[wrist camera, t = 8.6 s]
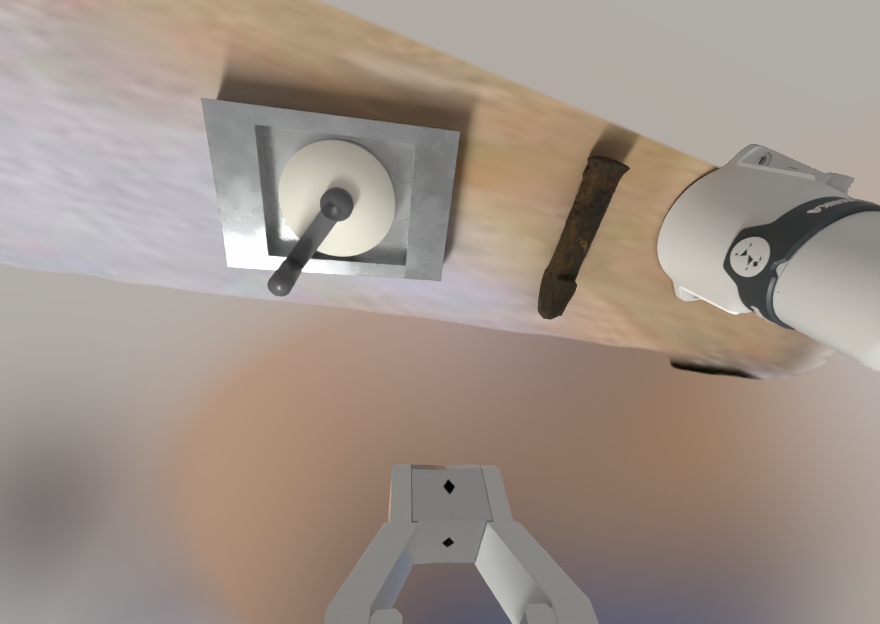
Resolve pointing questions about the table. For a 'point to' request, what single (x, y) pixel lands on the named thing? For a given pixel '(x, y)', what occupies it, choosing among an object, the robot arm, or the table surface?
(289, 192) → the crank
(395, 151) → the panel
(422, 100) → the table surface
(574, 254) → the hand tool
